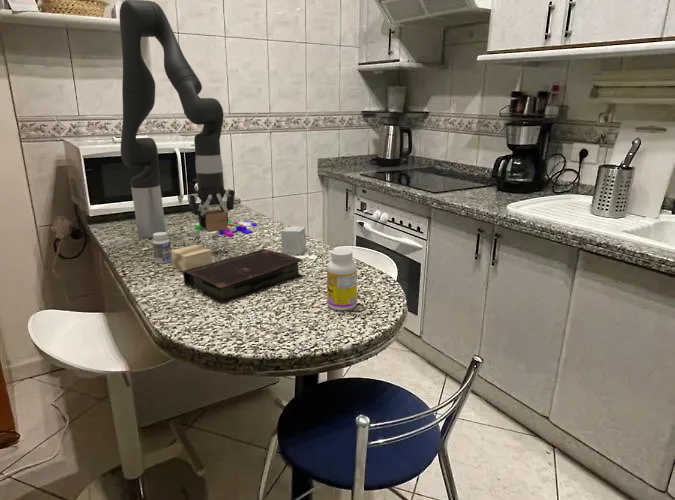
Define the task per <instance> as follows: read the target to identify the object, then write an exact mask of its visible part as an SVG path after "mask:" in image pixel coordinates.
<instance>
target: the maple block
mask: <svg viewBox="0 0 675 500" xmlns="http://www.w3.org/2000/svg"><path fill="white" fill-rule="evenodd" d="M212 255H213V254H212V249H209V248H207V247H205V246H204V247H203V246H201V245H198V244H193V245H190V246H189V245H188V246H185V247H181V248H175V249H172V250H171V257H172V260H171V264H172V265H171V266H172V267H173V268H174V269H176V270H179V271H180V272H183V271H184V270H187V269H191V268H195V267H200V266H204V265H208V264H211V263H213V256H212Z"/></svg>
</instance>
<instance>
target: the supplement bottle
mask: <svg viewBox="0 0 675 500" xmlns="http://www.w3.org/2000/svg"><path fill="white" fill-rule="evenodd" d="M330 257H331V260H330V261H329V262H328V263H327V265H326V294H327V295H326V297H327V298H326V301H327V302H326V303H327V305H328V307H329V308H330V309H331V310H334V311H341V312H342V311H349V310H353V309H354V308H355V307H356V305H357V300H358V294H357V293H358V292H357V291H358V288H357V287H358V284H357V283H358V277H357V276H358V273H357V272H358V266H357V264H356V262H355V261H354V260H352V258H353V250H352V249H349V248H342V247H341V248H335V249H332V250H331V252H330Z"/></svg>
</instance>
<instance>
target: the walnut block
mask: <svg viewBox="0 0 675 500" xmlns="http://www.w3.org/2000/svg"><path fill="white" fill-rule="evenodd" d="M204 216H205V221H206V228H202V227H201V230H202V229H203V230H204V231H206V232H213V231H219V230H224V229H228V224H227V213H226V212H224V211H222V210H221V209H220V208H217V209H210V210H209V209H207V210H206V212H205V215H204Z"/></svg>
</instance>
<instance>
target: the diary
mask: <svg viewBox="0 0 675 500" xmlns="http://www.w3.org/2000/svg"><path fill="white" fill-rule="evenodd" d="M303 261H304V260H303V259H302V258H298V257H296V256H292V255H290V254H284V253H282V252H278V251H274V250H269V249H266V248H261V249H259V250H258V249H257V250H256V251H252V252H249V253H245V254H241V255H238V256H232V257H229V258H225V259H221V260H218V261H215V262H212V263H211V264H208V265H204V266H200V267H195V268H191V269H187V270H184V271H183V273H182V274H183V275H182V277H183V282H184V285H185V286H189V285H190V284H191V285H190V286H189V288H191V287H194V288H195V289H198V290H199V291H200V292H199V294H202V295H204V296H205V297H207V298H209V299H211V300H212V301H215V302H217V303H219V304H220V303H221V304H222V303H228V302H229V303H230V302H232V301H235V300H237V299H240V298H244V297H246V296H249V295H253V294H255V293H258V292H261V291H263V290H266V289H269V288H272V287H276V286H278V285H279V284H281V283H285V282H289V281H292V280H295V279H299V278H301V277H304V275H303V274H301V273H299V263H301V262H303Z"/></svg>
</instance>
